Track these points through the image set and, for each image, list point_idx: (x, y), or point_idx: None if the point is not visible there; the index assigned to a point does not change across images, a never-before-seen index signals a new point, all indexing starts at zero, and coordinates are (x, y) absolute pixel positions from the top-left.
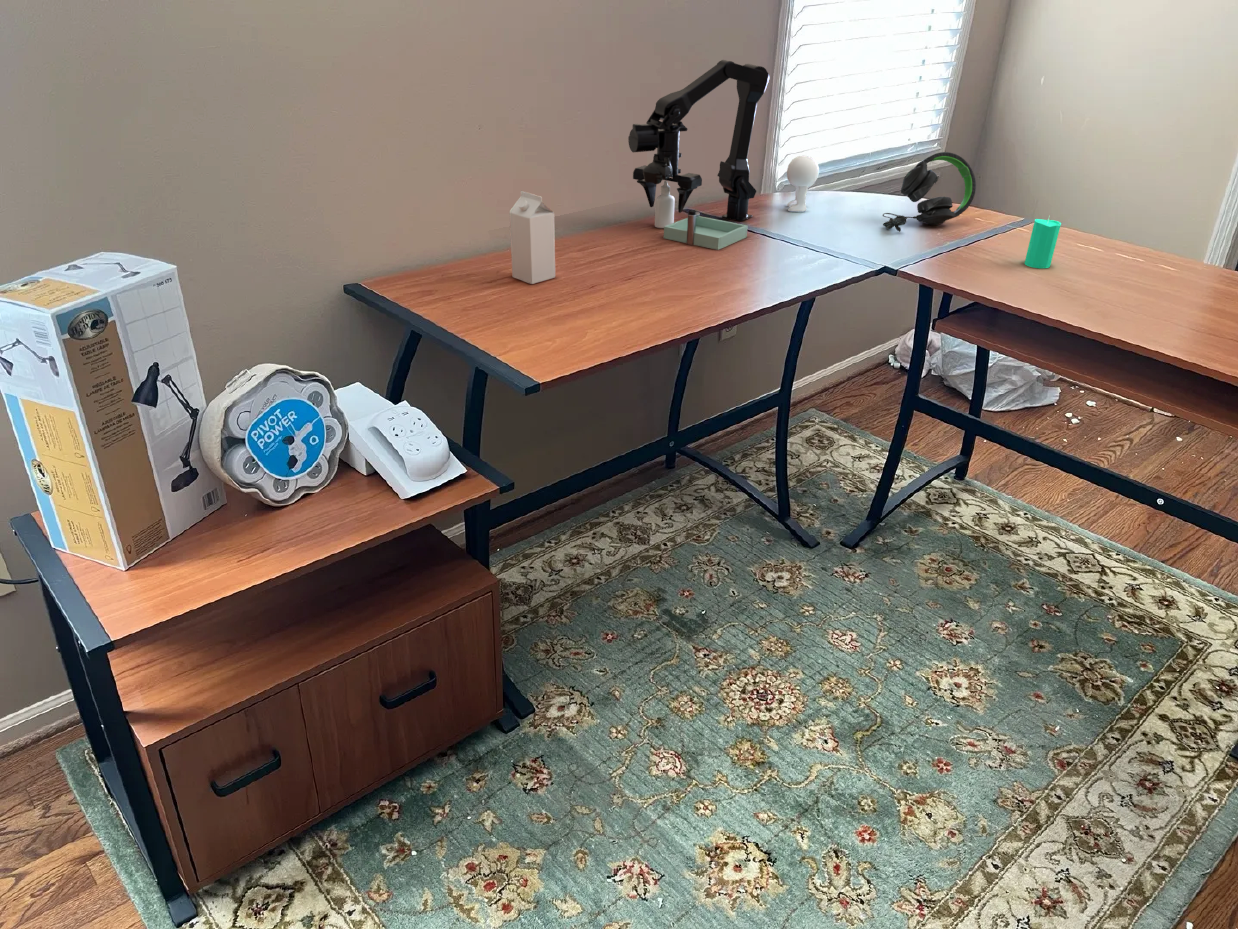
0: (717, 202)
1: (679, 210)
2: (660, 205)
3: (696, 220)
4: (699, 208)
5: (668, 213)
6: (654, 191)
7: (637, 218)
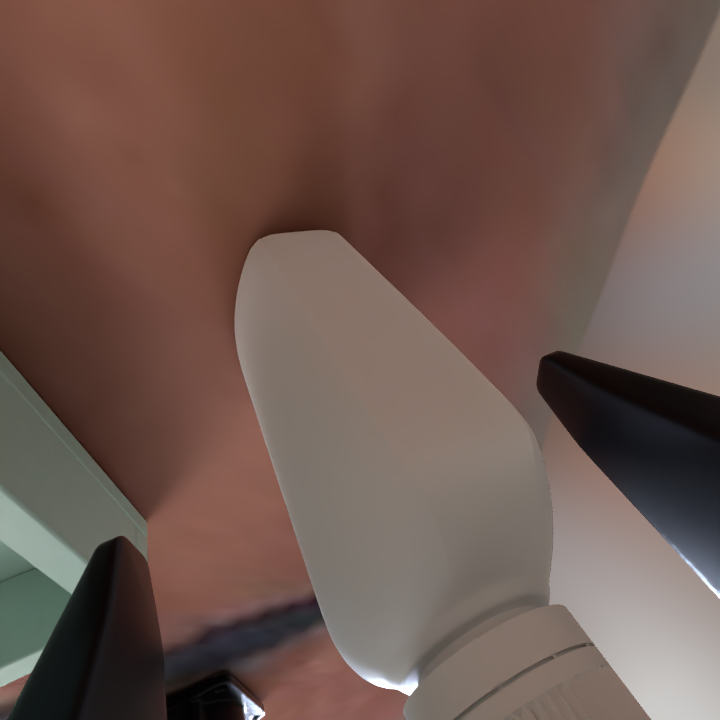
0: None
1: (89, 571)
2: (352, 400)
3: None
4: None
5: (263, 427)
6: (691, 540)
7: (585, 273)
